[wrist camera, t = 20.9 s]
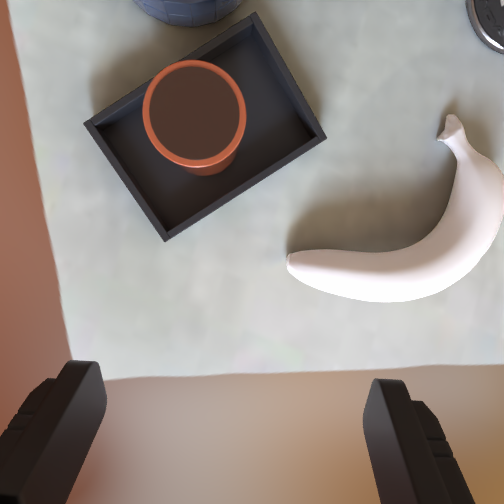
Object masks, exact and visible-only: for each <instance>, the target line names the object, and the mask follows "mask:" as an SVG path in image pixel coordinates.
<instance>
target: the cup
mask: <svg viewBox="0 0 504 504" xmlns="http://www.w3.org/2000/svg"><path fill="white" fill-rule="evenodd" d="M142 114H143V123H144V126H145V130H146V132H147V135H148V137H149V139H150V141H151V142H152V144H153V145H154V146H155V148H156V149H157V150H158V151H159V152H160V153H161V154H162V155H163V156H165V157H166V158H167V159H169V160H170V161H172V162H173V163H175V164H176V165H178V166H179V167H181V168H182V169H184V170H185V171H187V172H189V173H191V174H194V175H197V176H212V175H216V174H218V173H220V172H222V171H224V170H225V169H226V168H228V167H229V166H230V165H231V163H232V162H233V161H234V159H235V157H236V155H237V152H238V149H239V146H240V143H241V140H242V137H243V134H244V130H245V126H246V115H247V113H246V105H245V101H244V98H243V95H242V92H241V90H240V88H239V87H238V85H237V84H236V82H235V81H234V80H233V78H232V77H231V76H230V75H229V74H228V73H227V72H225V71H224V70H223V69H221V68H220V67H218V66H216V65H214V64H212V63H209V62H206V61H201V60H183V61H179V62H176V63H173V64H171V65H169V66H167V67H166V68H164V69H163V70H162V71H160V72H159V73H158V74H157V75H156V76H155V77H154V79H153V80H152V81H151V83H150V85H149V86H148V88H147V91H146V93H145V96H144V101H143V108H142Z"/></svg>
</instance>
